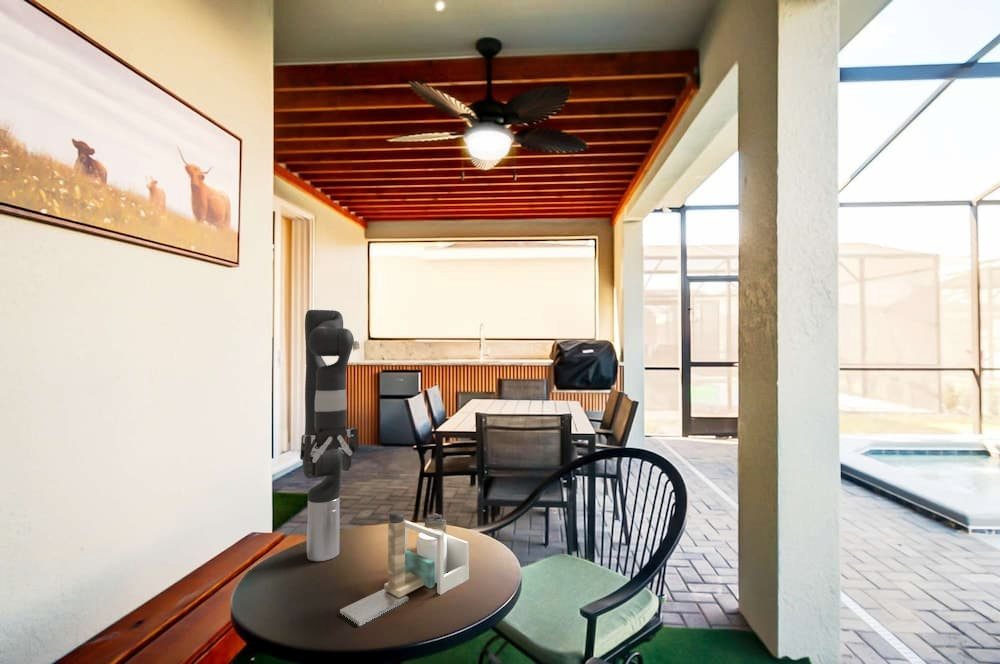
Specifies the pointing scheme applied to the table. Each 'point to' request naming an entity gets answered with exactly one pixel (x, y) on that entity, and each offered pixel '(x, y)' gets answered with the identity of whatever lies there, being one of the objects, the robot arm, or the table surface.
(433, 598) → the table surface
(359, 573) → the table surface
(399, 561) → the kicker rod
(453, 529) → the table surface
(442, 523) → the lighter
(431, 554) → the beverage can
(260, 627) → the table surface
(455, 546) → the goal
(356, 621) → the white flat board
